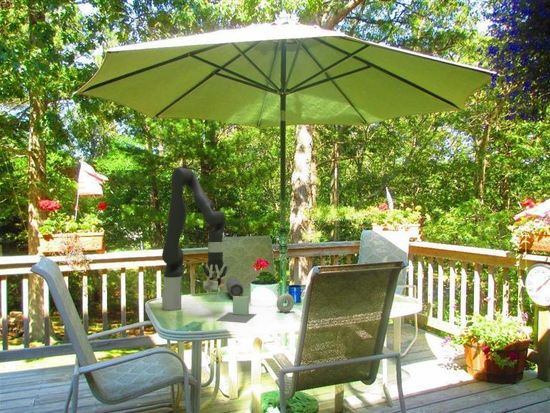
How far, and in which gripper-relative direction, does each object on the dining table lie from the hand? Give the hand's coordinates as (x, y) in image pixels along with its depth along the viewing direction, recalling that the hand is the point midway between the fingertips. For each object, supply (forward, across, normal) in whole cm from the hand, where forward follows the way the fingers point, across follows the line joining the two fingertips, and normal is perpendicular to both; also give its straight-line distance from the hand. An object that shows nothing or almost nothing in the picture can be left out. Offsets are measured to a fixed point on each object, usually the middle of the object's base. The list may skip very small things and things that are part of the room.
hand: (215, 285), depth 235 cm
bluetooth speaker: (+16, -8, +49) cm, 52 cm away
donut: (+16, +32, +17) cm, 39 cm away
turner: (+1, 0, +2) cm, 2 cm away
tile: (+15, +12, +3) cm, 20 cm away
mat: (+15, +12, -3) cm, 20 cm away
